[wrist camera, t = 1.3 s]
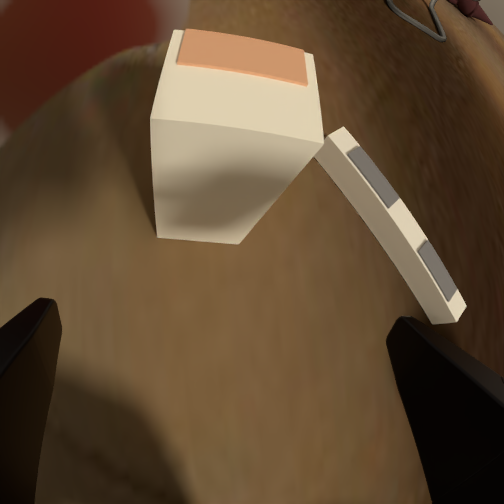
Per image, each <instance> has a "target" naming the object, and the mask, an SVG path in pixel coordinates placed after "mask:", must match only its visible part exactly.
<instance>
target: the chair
mask: <svg viewBox="0 0 504 504" xmlns="http://www.w3.org/2000/svg"><path fill="white" fill-rule="evenodd" d="M386 1H387V4H388V6H389V7H390V9H391V10H392V11H393V12H395V13H396V14H397V15H398V16H400V17H401V18H403V19H404V20H406V21H408V22H409V23H411V24H413V25H414V26H416V27H417V28H419V29H421V30H422V31H424V32H425V33H427V34H428V35H430V36H431V37H433V38H434V39H436V40H438V41H440V42H445V41H446V39H447V38H446V35H445V32H444V30H443V28H442V25H441V23H440V21H439V18H438V16H437V14H436V12H435V10H434V6H435V3H436V2H437V0H431V2H430V5H429V9H430V12H431V14H432V16H433V18H434V21H435V23H436V26H437V28H438V31H439V33H440V36H439V35H437V34H436V33H434V32H433V31H432V30H430V29H429V28H427V27H425V26H424V25H422V24H421V23H419V22H418V21H416V20H414V19H413V18H411V17H410V16H408V15H406V14H405V13H403V12H402V11H400V10H399V9H398V8H397V7H396V6H395V5H394V4H393V1H392V0H386ZM472 1H480V0H472Z"/></svg>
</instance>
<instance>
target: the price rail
mask: <svg viewBox="0 0 504 504" xmlns="http://www.w3.org/2000/svg"><path fill="white" fill-rule="evenodd" d="M314 158H315V159H316V160H317V161H318V162H319V164H320V165H321V166H322V167H323V169H324V170H325V171H326V172H327V174H328V175H329V176H330V177H331V179H332V180H333V181H334V182H335V184H336V185H337V186H338V187H339V189H340V190H341V191H342V193H343V194H344V195H345V196H346V198H347V199H348V200H349V202H350V203H351V204H352V206H353V207H354V208H355V210H356V211H357V212H358V214H359V215H360V216H361V218H362V219H363V220H364V222H365V223H366V225H367V226H368V227H369V229H370V230H371V232H372V233H373V234H374V236H375V237H376V239H377V240H378V241H379V243H380V244H381V246H382V247H383V249H384V250H385V251H386V253H387V254H388V256H389V257H390V259H391V260H392V262H393V263H394V265H395V266H396V268H397V269H398V271H399V272H400V274H401V275H402V277H403V278H404V280H405V281H406V283H407V284H408V286H409V288H410V289H411V291H412V292H413V294H414V295H415V297H416V299H417V300H418V302H419V303H420V305H421V307H422V308H423V310H424V312H425V313H426V315H427V317H428V318H429V320H430V322H431V323H432V324H442V323H452V322H457V320H458V319H459V317H460V316H461V314H462V312H463V311H464V309H465V307H466V304H465V302H464V300H463V299H462V297H461V295H460V293H459V291H458V289H457V287H456V286H455V284H454V282H453V280H452V279H451V277H450V275H449V273H448V272H447V270H446V268H445V266H444V265H443V263H442V261H441V260H440V258H439V256H438V255H437V253H436V252H435V250H434V248H433V247H432V245H431V244H430V242H429V240H428V239H427V237H426V236H425V234H424V233H423V231H422V230H421V228H420V227H419V225H418V224H417V222H416V221H415V219H414V218H413V216H412V215H411V213H410V212H409V210H408V209H407V207H406V206H405V205H404V203H403V202H402V200H401V199H400V197H399V196H398V195H397V193H396V192H395V190H394V189H393V188H392V186H391V185H390V184H389V182H388V181H387V180H386V178H385V177H384V176H383V174H382V173H381V172H380V170H379V169H378V168H377V166H376V165H375V164H374V163H373V161H372V160H371V159H370V158H369V156H368V155H367V154H366V153H365V151H364V150H363V149H362V148H361V146H360V145H359V144H358V143H357V142H356V140H355V139H354V138H353V137H352V136H351V134H350V133H349V132H348V131H347V130H346V129H345V127H342V128H340V129H338V130H337V131H335V132H333V133H331V134H330V135H328V136H327V137H326V138H325V140H324V145H323V146H322V147H321V148H320V149H319V151H318V152H317V153H316V154H315V155H314Z"/></svg>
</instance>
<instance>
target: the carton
mask: <svg viewBox="0 0 504 504" xmlns="http://www.w3.org/2000/svg"><path fill="white" fill-rule="evenodd" d="M150 133H151V159H152V178H153V193H154V206H155V219H156V230H157V238H168V239H180V240H192V241H204V242H216V243H228V244H239V243H240V242H241V241H242V240H243V239H244V238H245V236H246V235H247V234H248V233H249V232H250V230H251V229H252V228H253V227H254V226H255V224H256V223H257V222H258V221H259V220H260V219H261V217H262V216H263V215H264V214H265V213H266V211H267V210H268V209H269V208H270V207H271V206H272V204H273V203H274V202H275V201H276V200H277V198H278V197H279V196H280V195H281V194H282V193H283V191H284V190H285V189H286V188H287V187H288V186H289V184H290V183H291V182H292V181H293V180H294V179H295V177H296V176H297V175H298V174H299V173H300V172H301V170H302V169H303V168H304V167H305V166H306V165H307V163H308V162H309V161H310V160H311V159H312V158H313V156H314V155H315V154H316V153H317V152H318V151H319V149H320V148H321V147H322V146H323V145H324V137H323V127H322V118H321V110H320V102H319V94H318V87H317V79H316V72H315V66H314V59H313V55H312V54H309V53H305V52H304V50H302V49H298V48H294V47H290V46H286V45H282V44H277V43H273V42H268V41H263V40H259V39H253V38H248V37H243V36H237V35H231V34H225V33H218V32H211V31H203V30H194V29H186V31H183V30H174V32H173V35H172V38H171V41H170V45H169V48H168V51H167V55H166V58H165V62H164V65H163V69H162V73H161V76H160V80H159V84H158V88H157V92H156V96H155V100H154V104H153V108H152V112H151V117H150Z"/></svg>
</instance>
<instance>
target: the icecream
mask: <svg viewBox="0 0 504 504" xmlns="http://www.w3.org/2000/svg"><path fill="white" fill-rule="evenodd" d="M447 1H449V2H450V3H453V4H456V5H458V8H459V9H460V11H461V12H462V13H463V14H464V15H466V16H467V17H471V16H472V17H474V18H476V19H479V20H481V21H483V22H486V23H488V24H490V25H493V24H492V22H491V21H490V19H489V18H488V16H487V15H486V14H485V12H484V11H483V10H482V8H481V7H480V6H479V2H478V1H472V0H447Z"/></svg>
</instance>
